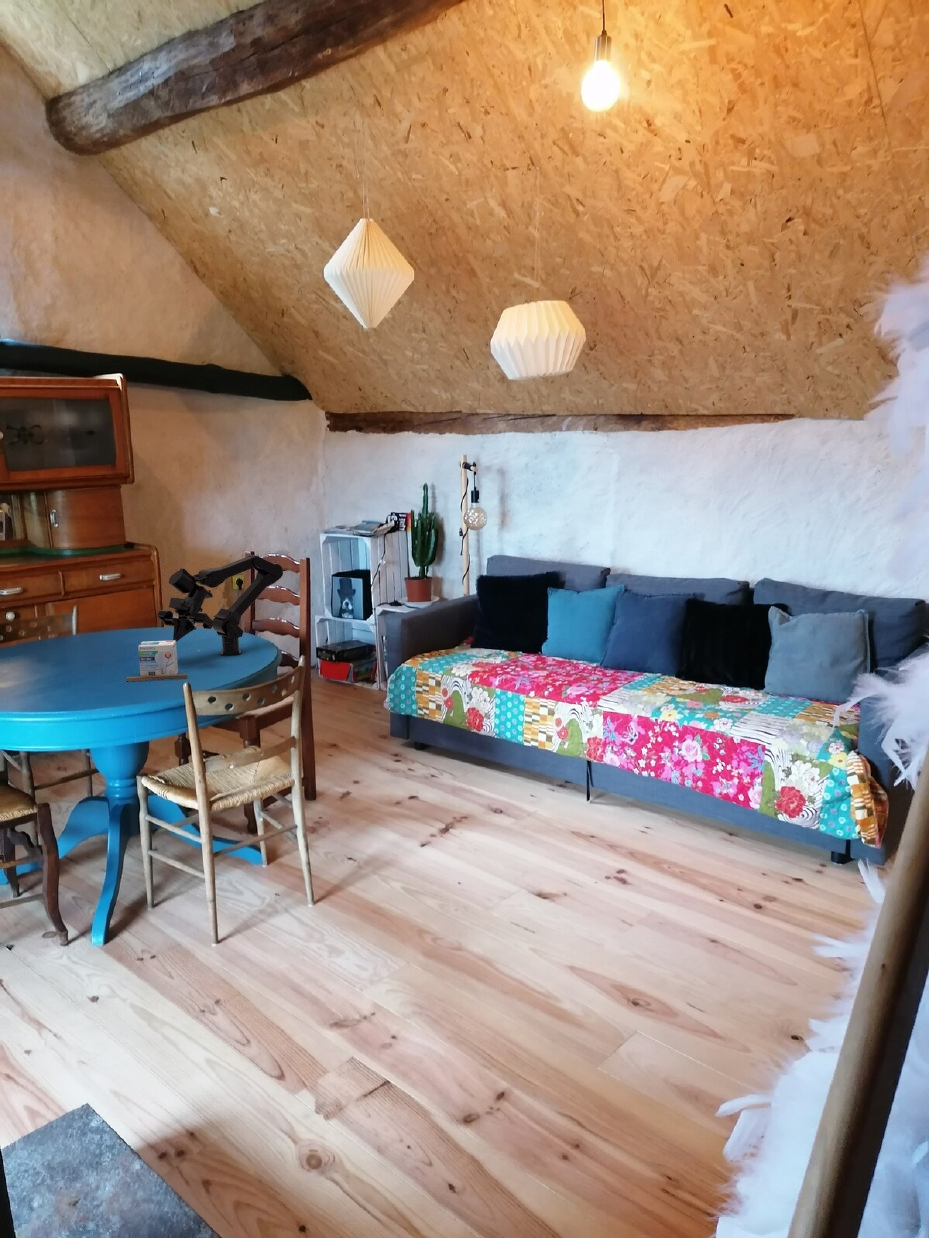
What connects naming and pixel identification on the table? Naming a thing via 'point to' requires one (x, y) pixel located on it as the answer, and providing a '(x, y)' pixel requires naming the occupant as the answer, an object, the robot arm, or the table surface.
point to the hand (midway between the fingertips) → (174, 640)
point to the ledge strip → (157, 677)
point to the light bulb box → (158, 658)
